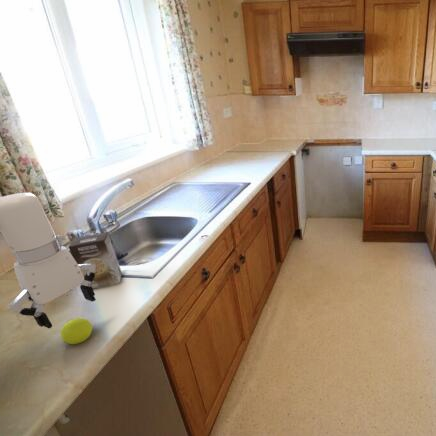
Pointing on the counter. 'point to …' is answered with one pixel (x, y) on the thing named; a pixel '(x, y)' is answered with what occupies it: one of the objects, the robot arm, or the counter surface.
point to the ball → (76, 331)
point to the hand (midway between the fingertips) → (70, 312)
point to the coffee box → (97, 258)
